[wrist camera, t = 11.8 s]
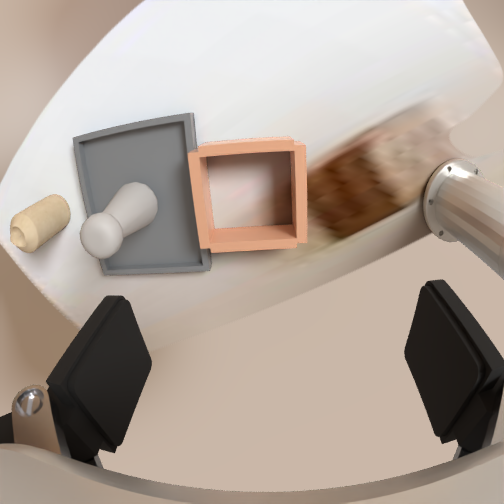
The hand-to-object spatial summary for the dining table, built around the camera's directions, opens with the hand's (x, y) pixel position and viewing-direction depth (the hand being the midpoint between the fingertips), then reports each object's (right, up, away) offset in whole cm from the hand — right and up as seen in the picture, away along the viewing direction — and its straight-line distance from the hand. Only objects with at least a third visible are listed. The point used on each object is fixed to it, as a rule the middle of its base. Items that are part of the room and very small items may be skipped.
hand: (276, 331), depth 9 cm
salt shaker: (-15, +9, +27) cm, 32 cm away
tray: (-15, +9, +28) cm, 33 cm away
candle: (-30, +9, +29) cm, 42 cm away
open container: (-1, +10, +27) cm, 29 cm away
